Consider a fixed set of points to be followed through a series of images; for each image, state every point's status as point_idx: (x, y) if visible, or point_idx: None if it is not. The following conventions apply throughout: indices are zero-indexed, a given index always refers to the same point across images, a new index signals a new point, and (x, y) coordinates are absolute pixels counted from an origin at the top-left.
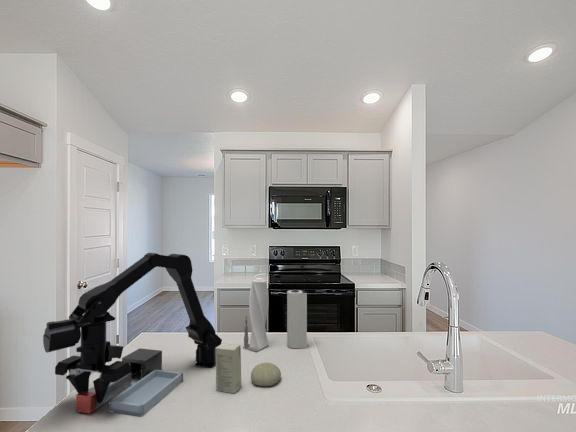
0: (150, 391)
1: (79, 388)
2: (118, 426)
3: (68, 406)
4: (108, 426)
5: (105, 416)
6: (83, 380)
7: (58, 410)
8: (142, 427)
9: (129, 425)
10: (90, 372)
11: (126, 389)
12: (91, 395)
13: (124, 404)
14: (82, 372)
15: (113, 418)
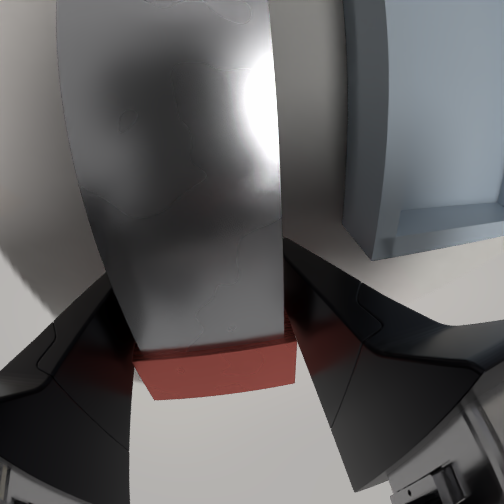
0: (460, 2)
1: (127, 404)
2: (439, 283)
3: (53, 276)
4: (407, 299)
5: (354, 262)
6: (91, 427)
7: (58, 313)
8: (500, 254)
9: (469, 263)
10: (9, 414)
11: (391, 62)
12: (283, 374)
13: (463, 241)
14: (55, 497)
15: (401, 258)
